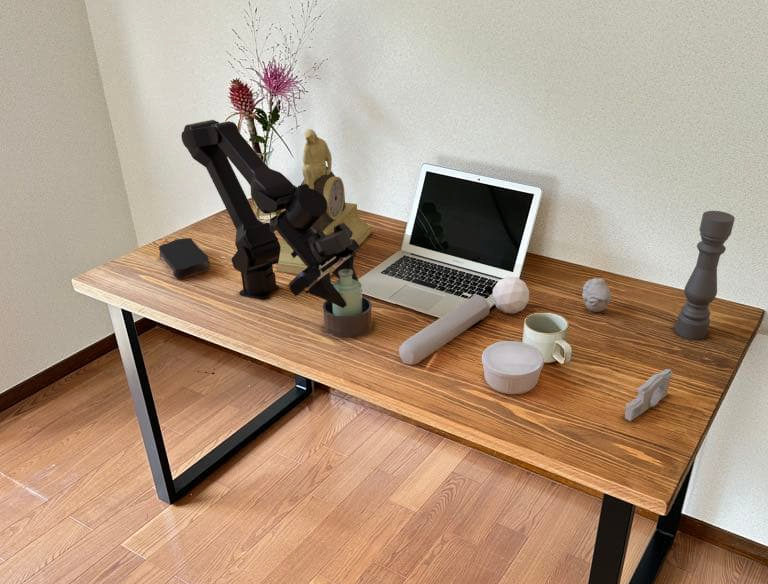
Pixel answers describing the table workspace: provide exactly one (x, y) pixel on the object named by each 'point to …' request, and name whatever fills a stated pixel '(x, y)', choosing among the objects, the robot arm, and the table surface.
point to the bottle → (348, 294)
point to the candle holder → (704, 275)
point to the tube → (444, 330)
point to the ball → (510, 295)
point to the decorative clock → (334, 193)
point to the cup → (348, 321)
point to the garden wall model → (649, 394)
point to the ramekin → (512, 366)
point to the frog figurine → (596, 294)
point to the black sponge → (184, 258)
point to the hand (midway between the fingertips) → (353, 299)
